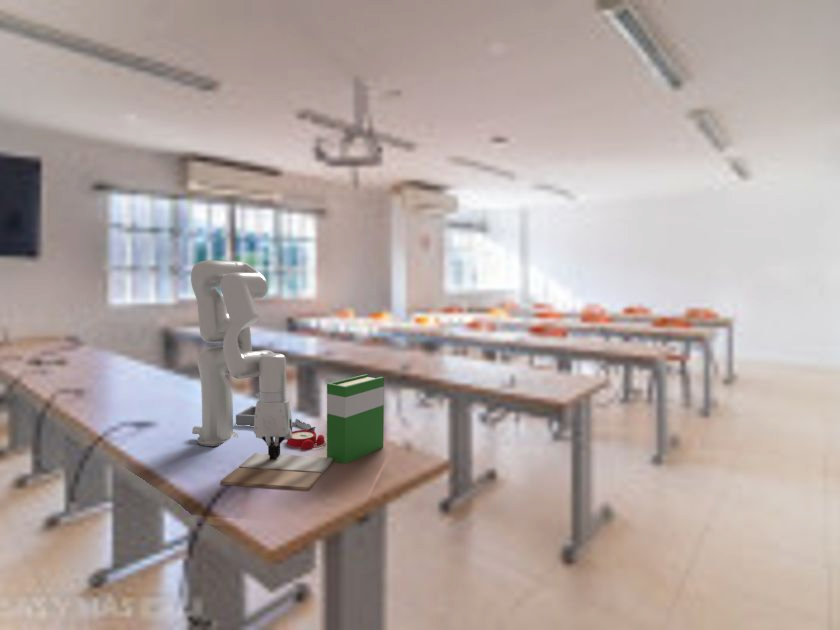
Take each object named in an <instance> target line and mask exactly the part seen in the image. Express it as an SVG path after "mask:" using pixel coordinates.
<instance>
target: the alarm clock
mask: <svg viewBox="0 0 840 630" xmlns="http://www.w3.org/2000/svg"><path fill="white" fill-rule="evenodd" d="M291 433H292V438H291V439H287V440H286V445H287V446H289V447H292V448H300V450H303V451H306V450H311V449H316V448H318V449H319V448H321V447H324V446H327V442H326V441H325V436H324V435H323V434H319V435H318V436H317V434H316V431H315V432H314V431H310V430H306V429H300V430H293V432H291Z"/></svg>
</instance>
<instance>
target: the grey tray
mask: <svg viewBox="0 0 840 630" xmlns="http://www.w3.org/2000/svg"><path fill="white" fill-rule="evenodd" d="M255 409H256V405H255V406H254V405H251V406H249V407H247V408H246V409H244V410H242V411H240V412H238V414H236V415H235V425H236V424H237V425H250V426H254V418H255ZM250 426H249V427H250Z"/></svg>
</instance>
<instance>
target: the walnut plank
mask: <svg viewBox="0 0 840 630" xmlns="http://www.w3.org/2000/svg"><path fill="white" fill-rule="evenodd" d="M320 477H321V473H309V472H294V471H278V470H263V469H247V468H239V467H236V468H235V469H234V470H232V471H231V472H230V473H229V474H228V475H226V476H225V477H224V478H222V479H221V480H220V485H226V486H243V487H255V488H258V487H259V488H270V489H282V490H283V489H286V490H301V491H310V490H311V489H312V488H313V487H314V485H315V484H316V483H317V482H318V480H319V479H320Z"/></svg>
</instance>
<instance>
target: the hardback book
mask: <svg viewBox="0 0 840 630" xmlns="http://www.w3.org/2000/svg"><path fill="white" fill-rule="evenodd" d="M384 400H385V377H384V376H379V377H376V378H375V377H370V376H369V374H368V373H365V374H361V375H358V376H353V377H349V378H345V379H341V380H337V381H336V380H335V381H332V382H328V383H326V457H328V458H333V461H335V462H337V463H342V464H344V465H346V464H348V463H350V462H352V461H355V460H357V459H359V458H361V457H364V456H366V455H368V454H370V453H372V452H374V451H378V450H379V449H381V448H384V426H385V425H384V413H385V412H384V409H385V401H384Z"/></svg>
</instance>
